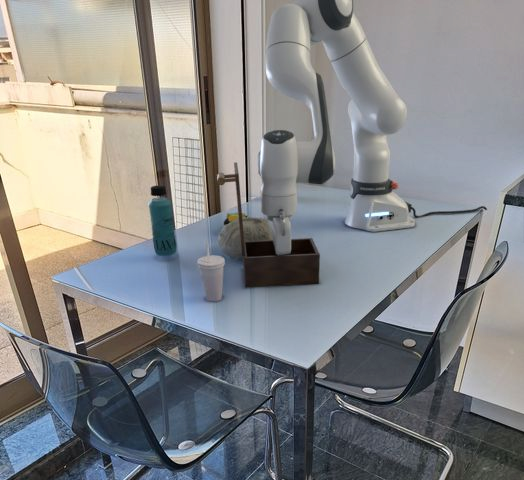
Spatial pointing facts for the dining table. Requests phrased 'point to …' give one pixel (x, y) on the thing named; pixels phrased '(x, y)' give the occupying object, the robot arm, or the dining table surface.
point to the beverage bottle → (162, 222)
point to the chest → (280, 264)
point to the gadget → (232, 217)
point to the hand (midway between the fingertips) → (279, 258)
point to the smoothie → (212, 275)
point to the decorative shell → (252, 232)
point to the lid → (221, 181)
